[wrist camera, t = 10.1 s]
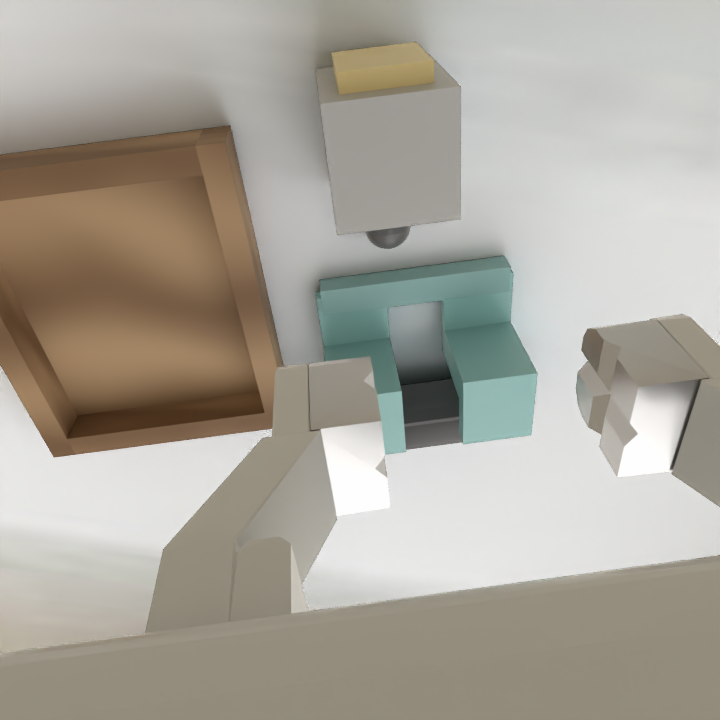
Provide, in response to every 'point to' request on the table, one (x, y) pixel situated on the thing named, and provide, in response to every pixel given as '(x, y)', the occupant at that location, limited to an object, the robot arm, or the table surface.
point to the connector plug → (390, 141)
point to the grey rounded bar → (430, 414)
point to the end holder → (134, 293)
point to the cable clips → (459, 342)
